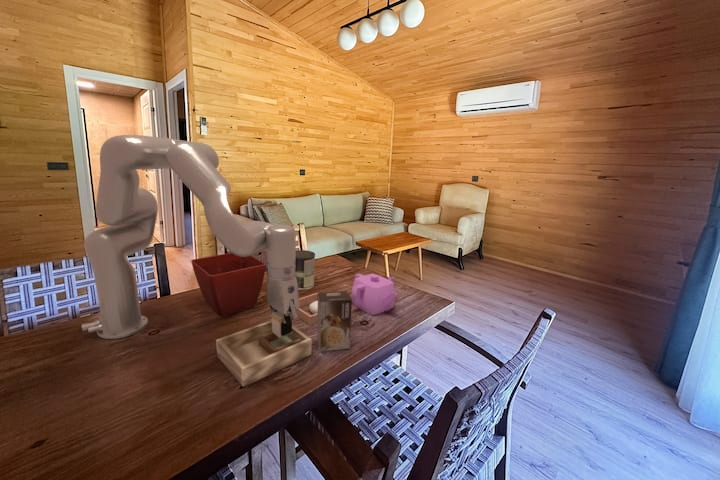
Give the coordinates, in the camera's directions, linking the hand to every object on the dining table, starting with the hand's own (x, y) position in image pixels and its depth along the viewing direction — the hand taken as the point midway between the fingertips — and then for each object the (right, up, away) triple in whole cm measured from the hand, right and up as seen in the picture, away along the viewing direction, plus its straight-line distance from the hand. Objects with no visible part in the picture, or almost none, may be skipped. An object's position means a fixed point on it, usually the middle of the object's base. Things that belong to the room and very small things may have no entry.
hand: (281, 329), depth 91 cm
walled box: (-4, -7, -2) cm, 8 cm away
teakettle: (+28, 0, +32) cm, 42 cm away
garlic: (+8, 0, +25) cm, 26 cm away
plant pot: (-25, +2, +24) cm, 35 cm away
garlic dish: (+6, 0, +24) cm, 25 cm away
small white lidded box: (0, -1, 0) cm, 1 cm away
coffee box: (+14, -6, +5) cm, 16 cm away
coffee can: (-2, +6, +46) cm, 46 cm away
